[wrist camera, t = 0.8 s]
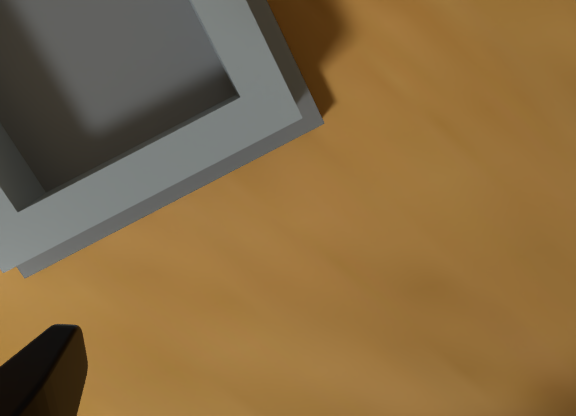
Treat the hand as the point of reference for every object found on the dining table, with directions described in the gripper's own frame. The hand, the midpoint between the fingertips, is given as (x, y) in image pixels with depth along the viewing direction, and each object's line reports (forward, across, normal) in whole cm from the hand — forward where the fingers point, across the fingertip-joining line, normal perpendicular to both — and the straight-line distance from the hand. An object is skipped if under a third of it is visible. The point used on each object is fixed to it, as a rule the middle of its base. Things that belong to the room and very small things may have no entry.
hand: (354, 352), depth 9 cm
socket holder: (+14, +8, -1) cm, 16 cm away
